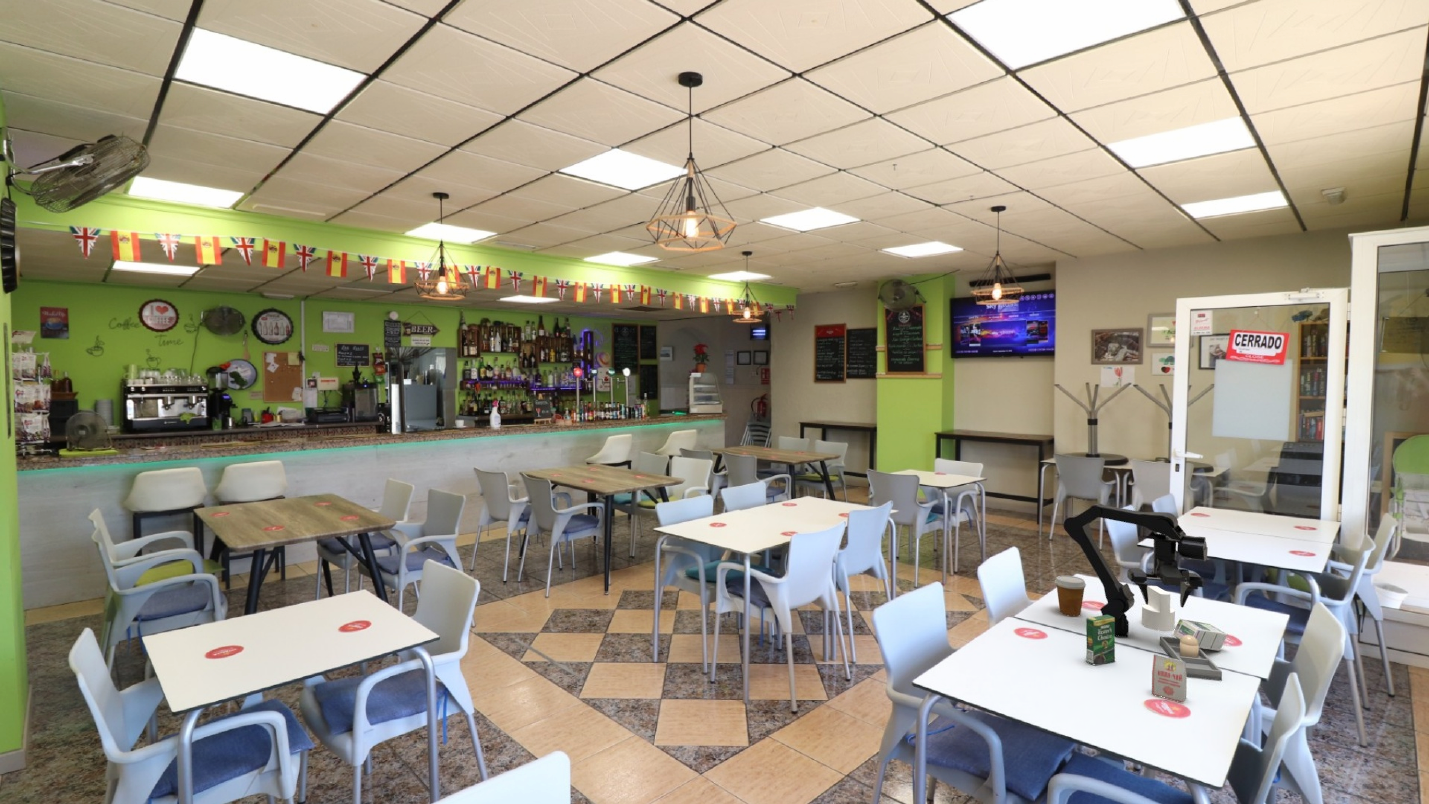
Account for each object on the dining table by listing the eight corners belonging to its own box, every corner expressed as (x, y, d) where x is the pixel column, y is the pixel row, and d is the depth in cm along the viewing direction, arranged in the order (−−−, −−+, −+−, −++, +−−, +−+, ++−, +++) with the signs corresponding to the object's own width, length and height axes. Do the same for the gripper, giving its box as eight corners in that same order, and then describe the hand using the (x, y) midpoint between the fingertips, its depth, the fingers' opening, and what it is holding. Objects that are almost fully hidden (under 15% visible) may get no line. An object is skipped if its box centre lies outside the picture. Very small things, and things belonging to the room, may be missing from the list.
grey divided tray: (1186, 676, 184) (1186, 667, 184) (1159, 644, 206) (1159, 636, 206) (1221, 680, 181) (1221, 671, 181) (1191, 647, 203) (1191, 639, 203)
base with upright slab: (1136, 620, 226) (1137, 585, 226) (1165, 621, 225) (1166, 586, 224) (1150, 630, 217) (1150, 593, 217) (1180, 632, 216) (1181, 594, 215)
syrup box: (1228, 634, 200) (1198, 628, 194) (1220, 652, 200) (1189, 646, 195) (1209, 623, 205) (1179, 617, 199) (1201, 641, 206) (1171, 635, 200)
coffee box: (1093, 666, 191) (1093, 620, 190) (1085, 662, 194) (1085, 617, 193) (1115, 662, 193) (1116, 617, 193) (1107, 658, 196) (1107, 614, 196)
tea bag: (1155, 689, 176) (1155, 652, 176) (1186, 698, 172) (1186, 659, 171) (1151, 694, 174) (1152, 656, 173) (1183, 703, 169) (1183, 664, 169)
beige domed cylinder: (1182, 660, 192) (1182, 637, 192) (1177, 654, 196) (1178, 631, 196) (1200, 662, 190) (1200, 639, 190) (1195, 656, 194) (1196, 633, 194)
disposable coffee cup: (1060, 617, 230) (1060, 582, 229) (1050, 608, 239) (1051, 574, 239) (1090, 618, 228) (1090, 583, 228) (1079, 609, 237) (1080, 575, 237)
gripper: (1136, 559, 200) (1136, 611, 201) (1211, 564, 194) (1210, 617, 195) (1126, 550, 211) (1126, 599, 211) (1197, 554, 205) (1196, 605, 205)
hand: (1164, 605), depth 205 cm, fingers open, 9 cm apart
